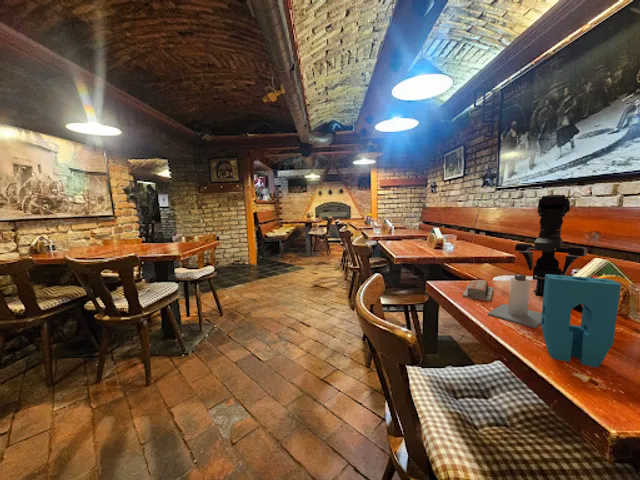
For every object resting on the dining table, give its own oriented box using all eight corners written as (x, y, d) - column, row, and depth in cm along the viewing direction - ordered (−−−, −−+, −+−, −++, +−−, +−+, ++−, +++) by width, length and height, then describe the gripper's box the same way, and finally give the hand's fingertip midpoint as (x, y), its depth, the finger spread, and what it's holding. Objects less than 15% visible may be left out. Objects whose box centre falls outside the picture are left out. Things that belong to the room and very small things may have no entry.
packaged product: (491, 290, 99) (462, 286, 105) (491, 302, 99) (462, 298, 105) (493, 280, 113) (468, 276, 119) (493, 290, 114) (467, 286, 120)
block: (601, 359, 61) (611, 279, 59) (611, 370, 57) (623, 285, 54) (537, 346, 67) (544, 273, 65) (542, 356, 63) (550, 278, 60)
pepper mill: (505, 310, 89) (507, 273, 88) (522, 311, 88) (524, 273, 87) (513, 316, 84) (515, 277, 83) (531, 317, 83) (533, 277, 82)
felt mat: (503, 305, 96) (503, 303, 96) (548, 316, 85) (548, 314, 85) (487, 314, 88) (487, 313, 87) (535, 328, 77) (535, 326, 77)
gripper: (511, 229, 94) (508, 270, 95) (583, 231, 79) (578, 280, 80) (521, 229, 100) (518, 267, 101) (589, 231, 85) (584, 276, 86)
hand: (546, 272), depth 92 cm, fingers open, 9 cm apart
